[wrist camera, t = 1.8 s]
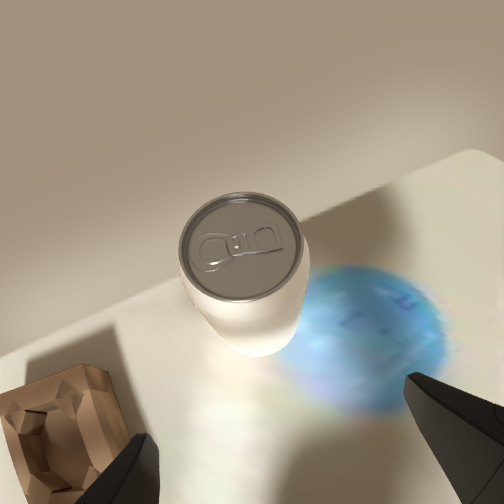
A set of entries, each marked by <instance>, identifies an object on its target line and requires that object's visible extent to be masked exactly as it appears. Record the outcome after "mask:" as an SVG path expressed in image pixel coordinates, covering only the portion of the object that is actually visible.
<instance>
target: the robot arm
mask: <svg viewBox="0 0 504 504" xmlns="http://www.w3.org/2000/svg"><path fill="white" fill-rule="evenodd" d="M404 397H405V399H406V401H407V404H408V406H409V408H410V410H411V412H412V415H413V417H414V419H415V421H416V424H417V426H418V428H419V430H420V432H421V433H422V435H423V437H424V438H425V440H426V442H427V443H428V445H429V447H430V448H431V450H432V452H433V454H434V455H435V457H436V459H437V460H438V462H439V464H440V466H441V467H442V469H443V471H444V472H445V474H446V476H447V478H448V479H449V481H450V483H451V485H452V487H453V488H454V490H455V492H456V494H457V495H458V497H459V499H460V501H461V503H462V504H504V407H503V406H500V405H497V404H495V403H494V404H493V403H492V402H490V401H487V400H484V399H482V398H479V397H477V396H474V395H472V394H469V393H467V392H464V391H462V390H460V389H457V388H455V387H452V386H450V385H447V384H445V383H443V382H440V381H438V380H436V379H433V378H431V377H428V376H426V375H424V374H421V373H419V372H413V373H411V374H409V375H407V376H406V378H405V385H404ZM159 494H160V473H159V450H158V447H157V445H156V444H155V442H154V440H153V439H152V437H151V436H150V434H148V433H137V434H136V435H135V436H134V437H133V438H132V439H131V441H130V442H129V443H128V444H127V445H126V446H125V447H124V448H123V450H122V451H121V452H120V453H119V454H118V455H117V456H116V457H115V459H114V460H113V461H112V462H111V463H110V464H109V465H108V466H107V468H106V469H105V470H104V471H103V472H102V473H101V474H100V475H99V476H98V477H97V479H96V480H95V481H94V482H93V483H92V484H91V485H90V486H89V487H88V488H87V490H86V491H85V492H84V493H83V495H81V496H80V497H79V498H78V499H77V500H76V501H75V502H74V503H73V504H159Z"/></svg>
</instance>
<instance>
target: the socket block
mask: <svg viewBox="0 0 504 504" xmlns="http://www.w3.org/2000/svg"><path fill="white" fill-rule="evenodd" d="M0 418H1V422H2V426H3V430H4V434H5V438H6V442H7V445H8V449H9V452H10V455H11V458H12V461H13V465H14V468H15V470H16V473H17V476H18V479H19V482H20V484H21V487H22V489H23V492H24V494H25V497H26V499H27V502H28V504H73V503H74V502H75V501H76V500H77V499H78V498H79V497H80V496H81V495H83V493H84V492H85V491H86V490H87V488H88V487H89V486H90V485H91V484H92V483H93V482H94V481H95V480H96V479H97V477H98V476H99V475H100V474H101V473H102V472H103V471H104V470H105V469H106V468H107V466H108V465H109V464H110V463H111V462H112V461H113V460H114V459H115V457H116V456H117V455H118V454H119V453H120V452H121V451H122V450H123V448H124V447H125V446H126V445H127V444H128V443H129V442H130V441H131V437H130V435H129V432H128V430H127V427H126V424H125V422H124V419H123V416H122V414H121V411H120V408H119V405H118V402H117V399H116V396H115V393H114V390H113V387H112V384H111V380H110V377H109V374H108V372H107V371H104V370H101V369H97V368H94V367H91V366H88V365H85V364H80V365H78V366H75V367H73V368H70V369H67V370H65V371H62V372H59V373H57V374H54V375H52V376H49V377H46V378H43V379H41V380H38V381H35V382H33V383H30V384H27V385H24V386H22V387H19V388H16V389H13V390H10V391H8V392H5V393H2V394H0Z"/></svg>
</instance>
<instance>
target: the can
mask: <svg viewBox="0 0 504 504" xmlns="http://www.w3.org/2000/svg"><path fill="white" fill-rule="evenodd" d="M179 260H180V274H181V279H182V282H183V285H184V287H185V290H186V292H187V293H188V295H189V297H190V298H191V300H192V301H193V303H194V304H195V305H196V307H197V308H198V309H199V311H200V312H201V313H202V315H203V316H204V317H205V319H206V320H207V321H208V322H209V324H210V325H211V326H212V327H213V329H214V330H215V331H216V332H217V334H218V335H219V336H220V337H221V338H222V340H223V341H224V342H225V343H226V344H227V345H228V346H229V347H230V348H232V349H233V350H235V351H237V352H239V353H241V354H244V355H247V356H254V357H259V356H266V355H270V354H273V353H275V352H277V351H279V350H280V349H282V348H283V347H284V346H285V345H287V343H288V342H289V341H290V340H291V339H292V337H293V335H294V334H295V331H296V329H297V326H298V322H299V318H300V314H301V310H302V306H303V301H304V297H305V292H306V287H307V282H308V276H309V269H310V253H309V248H308V244H307V241H306V239H305V237H304V235H303V232H302V228H301V226H300V223H299V221H298V220H297V218H296V217H295V215H294V214H293V212H292V211H291V210H290V209H289V208H288V207H287V206H285V205H284V204H283V203H281V202H280V201H278V200H276V199H274V198H272V197H270V196H267V195H264V194H260V193H255V192H236V193H230V194H226V195H223V196H220V197H217V198H215V199H213V200H211V201H209V202H207V203H206V204H205V205H203V206H202V207H200V208H199V209H198V210H197V211H196V212H195V213H194V214H193V215H192V216H191V218H190V219H189V220H188V222H187V223H186V225H185V227H184V229H183V231H182V234H181V237H180V241H179Z"/></svg>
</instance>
